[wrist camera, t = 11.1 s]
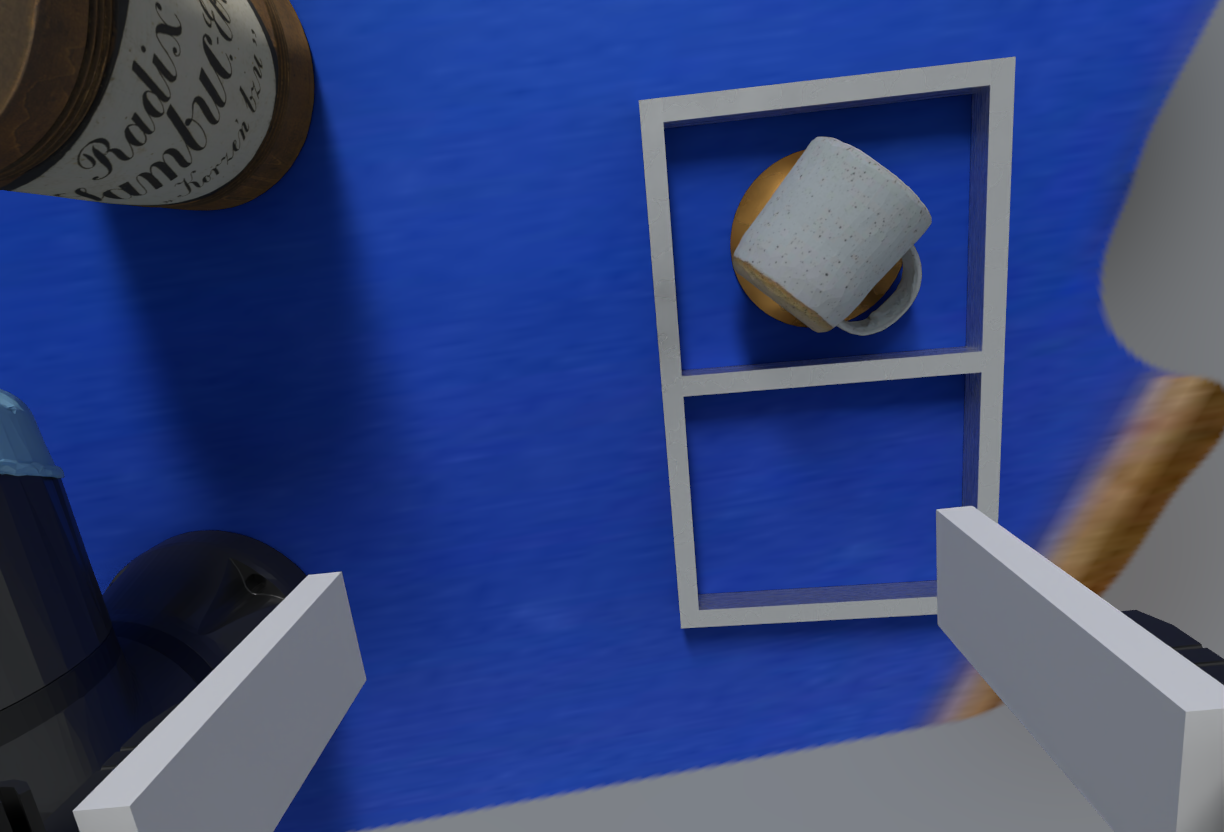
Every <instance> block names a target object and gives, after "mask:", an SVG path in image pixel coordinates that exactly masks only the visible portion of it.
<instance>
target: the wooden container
mask: <svg viewBox="0 0 1224 832" xmlns="http://www.w3.org/2000/svg"><path fill="white" fill-rule="evenodd" d="M313 103H314V75H313V66H312V59H311V54H310V50H309V46H308V42H307V39H306V36H305V34H304V31H303V28H302V26H301V23H300V21H299V19H298V17H297V14H296V12H295V10H294V8H293V7H292V5H291V3H290V1H289V0H0V190H7V191H16V192H24V193H33V194H41V195H49V196H57V197H64V198H71V199H79V200H87V201H95V202H103V203H111V204H123V205H132V206H142V207H162V208H171V209H184V210H219V209H226V208H231V207H235V206H238V205H241V204H244V203H246V202H249V201H251V200H253V199H255V198H256V197H258V196H260V195H261V194H263V193H264V192H266V191H267V190H268V189H270V188H271V187H272V186H273V185H275V184H276V183H277V182H278V181H279V180H280V179H281V178H282V177H283V176H284V174H285V173H286V172H287V171H288V170H289V168H290V167H291V166H292V164H293V163H294V161H295V159H296V158H297V156H298V154H299V152H300V150H301V148H302V146H303V144H304V142H305V140H306V137H307V133H308V130H309V125H310V121H311V116H312V110H313Z"/></svg>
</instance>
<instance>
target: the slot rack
mask: <svg viewBox="0 0 1224 832" xmlns="http://www.w3.org/2000/svg"><path fill="white" fill-rule="evenodd" d="M1014 82H1015V57H1009V58H1000V59H992V60H983V61H975V62H966V63H957V64H949V65H940V66H931V67H923V68H914V69H906V70H897V71H888V72H880V73H871V74H863V75H854V76H845V77H837V78H828V79H819V80H811V81H802V82H794V83H785V84H776V85H768V86H759V87H750V88H742V89H733V90H725V91H716V92H707V93H699V94H690V95H682V96H673V97H664V98H656V99H647V100H639V108H640V120H641V133H642V145H643V158H644V170H645V183H646V195H647V208H648V220H649V233H650V245H651V258H652V270H653V283H654V295H655V307H656V320H657V332H658V345H659V357H660V370H661V382H662V395H663V407H664V420H665V432H666V445H667V457H668V470H669V482H670V495H671V507H672V520H673V532H674V545H675V557H676V570H677V582H678V595H679V607H680V620H681V628H696V627H714V626H733V625H751V624H769V623H787V622H805V621H823V620H841V619H859V618H878V617H896V616H914V615H932V614H937V581H920V582H903V583H886V584H869V585H852V586H835V587H818V588H801V589H784V590H767V591H750V592H733V593H716V594H699V595H698V591H697V577H696V563H695V550H694V536H693V522H692V509H691V495H690V481H689V468H688V454H687V440H686V426H685V413H684V399H683V397H685V396H697V395H709V394H722V393H734V392H746V391H758V390H771V389H783V388H795V387H807V386H820V385H832V384H844V383H856V382H869V381H881V380H893V379H905V378H918V377H930V376H942V375H954V374H965V409H964V449H963V490H962V507H966V506H973V507H975V508H976V509H978V510H979V511H980V512H982V513H983V514H985V515H986V516H987V517H989V518H990V519H992V520H993V521H994V522H996V523H997V524H998V507H999V480H1000V454H1001V427H1002V401H1003V374H1004V348H1005V321H1006V295H1007V268H1008V242H1009V215H1010V189H1011V162H1012V135H1013V109H1014ZM968 94H972V124H971V165H970V205H969V246H968V287H967V327H966V346H965V347H953V348H942V349H930V350H918V351H906V352H894V353H883V354H871V355H859V356H847V357H835V358H823V359H812V360H800V361H788V362H776V363H764V364H753V365H741V366H729V367H717V368H705V369H693V370H682V371H681V358H680V344H679V330H678V317H677V303H676V289H675V276H674V262H673V248H672V234H671V221H670V207H669V193H668V180H667V166H666V152H665V139H664V129H665V128H674V127H683V126H692V125H701V124H710V123H719V122H728V121H736V120H745V119H754V118H763V117H772V116H781V115H790V114H799V113H808V112H816V111H825V110H834V109H843V108H852V107H861V106H870V105H879V104H888V103H896V102H905V101H914V100H923V99H932V98H941V97H950V96H959V95H968ZM804 151H805V150H802V151H799V152H796V153H793V154H791V155H789V156H786V157H784V158H782V159H780V160H779V161H777V162H776V163H774V164H773V165H771V166H770V167H769V168H767V169H766V170H765V171H764V172H763V173H761V174H760V175H759V177H758V178H757V179H756V180H755V181H754V182H753V183H752V184H751V186H750V187H749V188H748V190H747V191H746V193H745V194H744V196H743V198H742V200H741V202H740V204H739V206H738V209H737V211H736V213H735V217H734V221H733V224H732V230H731V243H730V249H731V258H733V255H734V252H735V250H736V248H737V247H738V245H739V243H740V241H741V239H742V237H743V235H744V234H745V232H746V231H747V230H748V228H749V227H750V226H751V224H752V223H753V222H754V220H755V219H756V218H757V216H758V215H759V214H760V212H761V211H762V209H763V208H764V207H765V205H766V204H767V203H768V201H769V200H770V198H771V197H772V195H773V194H774V192H775V191H776V190H777V188H778V187H779V186H780V184H781V183H782V181H783V180H784V179H785V177H786V176H787V175H788V173H789V172H790V170H791V169H792V168H793V166H794V165H795V164H796V162H797V161H798V159H799V158H800V157H801V155H802V154H803V153H804ZM732 263H733V262H732ZM902 264H903V261H902V258H901V259H900V260H899V261H898V262H897V263H896V264H895V265H894V266H893V267H892V268H891V269H890V270H889V271H888V272H887V273H886V275H885V276H884V277H883V278H882V279H881V280H880V281H879V282H878V283H877V284H876V285H875V286H874V287H873V288H872V289H871V291H870V292H869V293H868V294H867V296H866V297H865V298H864V299H863V301H862V302H861V303H860V304H859V305H858V306H857V307H856V308H855V310H854V311H853V312H852V313H851V314H850V315H849V316H848V317H846V318H845V319H844V320H845V321H848V320H850V319H853V318H855V317H857V316H858V315H860V314H862V313H863V312H865V311H866V310H868V309H869V308H870V307H872V306H873V305H874V304H875V303H876V302H877V301H878V300H879V299H880V298H882V296H883V295H884V294H885V293H886V292H887V290H888V289H889V288H890V287H891V285H892V283H893V282H894V280H895V279H896V277H897V275H898V273H899V271H900V269H901V267H902ZM734 271H735V270H734ZM735 273H736V276H737V278H738V281H739V283H740V285H741V286H742V288H743V290H744V292H745V293H746V294H747V295H748V297H749V298H750V299H751V301H753V302H754V303H755V304H756V305H757V306H758V307H759V308H760V309H761V310H762V311H764V312H765V313H766V314H768V315H770V316H772V317H773V318H775V319H777V320H779V321H782V322H784V323H787V324H791V325H795V326H799V327H808V326H807V325H805V324H804V323H803V322H801V321H800V320H798V319H797V318H796V317H795V316H793V315H792V314H791V313H789V312H788V311H787V310H785V309H784V308H783V307H781V306H780V305H779V304H777V303H776V302H775V301H773V300H772V299H771V298H769V297H768V296H767V295H765V294H764V293H763V292H762V291H760V290H759V289H758V288H756V287H755V286H754V285H753V284H751V283H750V282H749V281H747V280H746V279H745V278H743V277H742V276H741V275H739V274H738V273H737V272H736V271H735ZM808 328H809V327H808Z"/></svg>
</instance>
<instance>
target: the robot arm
mask: <svg viewBox="0 0 1224 832" xmlns="http://www.w3.org/2000/svg"><path fill="white" fill-rule="evenodd" d="M64 477H65V476H64V472H63V471H62V469H61V468H60V467H58V466H56V465H55V464H54V462H53V459H52V457H51V455H50V453H49V451H48V449H47V447H46V445H45V442H44V440H43V437H42V435H41V433H40V430H39V428H38V426H37V423H36V421H35V419H34V416H33V414H32V413H31V411H30V409H29V408H28V407H27V405H26V404H25V403H24V402H22V401H21V400H20V399H19V398H18V397H16V396H14V395H13V394H11V393H9V392H7V391H4V390H2V389H0V832H273V831H274V830H275V828H276V826H277V825H278V823H279V821H280V820H281V818H282V817H283V815H284V813H285V812H286V810H287V808H288V807H289V805H290V803H291V802H292V800H293V799H294V797H295V795H296V794H297V792H298V790H299V789H300V787H301V786H302V784H303V782H304V781H305V779H306V777H307V776H308V774H309V773H310V771H311V769H312V768H313V766H314V764H315V763H316V761H317V759H318V758H319V756H320V755H321V753H322V751H323V750H324V748H325V746H326V745H327V743H328V742H329V740H330V738H331V737H332V735H333V733H334V732H335V730H336V729H337V727H338V725H339V724H340V722H341V720H342V719H343V717H344V715H345V714H346V712H347V711H348V709H349V707H350V706H351V704H352V702H353V701H354V699H355V698H356V696H357V694H358V693H359V691H360V689H361V688H362V686H363V685H364V683H365V681H366V676H365V672H364V667H363V663H362V658H361V654H360V650H359V645H358V641H357V637H356V632H355V628H354V624H353V619H352V615H351V610H350V606H349V602H348V597H347V593H346V589H345V584H344V580H343V575H342V572H333V573H323V574H313V575H308V576H306V575H305V574H304V573H303V572H302V571H301V570H300V569H299V568H298V567H297V566H296V565H295V564H294V563H293V562H292V561H291V560H289V559H288V558H287V557H285V556H284V555H283V554H281V553H280V552H278V551H277V550H275V549H274V548H272V547H270V546H268V545H266V544H264V543H262V542H260V541H258V540H255V539H253V538H250V537H247V536H244V535H240V534H236V533H231V532H226V531H214V530H205V531H194V532H188V533H184V534H180V535H177V536H174V537H172V538H169V539H167V540H165V541H163V542H161V543H160V544H158V545H156V546H155V547H153V548H151V549H150V550H148V551H146V552H144V553H143V554H141V555H139V556H138V557H136V558H135V559H134V560H132V561H131V562H130V563H129V564H127V565H126V566H125V567H124V568H123V569H122V570H121V571H120V572H119V573H118V574H117V575H116V576H115V578H114V579H113V580H112V582H111V583H110V585H109V587H108V588H107V590H106V591H105V593H104V594H103V595H102V594H101V591H100V588H99V586H98V583H97V580H96V578H95V575H94V572H93V569H92V567H91V564H90V561H89V558H88V555H87V552H86V550H85V547H84V544H83V541H82V538H81V535H80V532H79V529H78V526H77V523H76V520H75V518H74V515H73V512H72V509H71V506H70V503H69V500H68V497H67V494H66V491H65V488H64V486H63V483H62V480H61V478H64ZM936 536H937V616H938V626H939V627H940V628H941V629H942V630H943V632H944V633H945V634H946V635H947V636H948V637H949V639H950V640H951V641H952V642H953V643H954V644H955V646H956V647H957V648H958V649H959V650H960V652H961V653H962V654H963V655H964V656H965V657H966V659H967V660H968V661H969V662H970V663H971V664H972V666H973V667H974V668H975V669H976V670H977V671H978V673H979V674H980V675H981V676H982V677H983V679H984V680H985V681H986V682H987V683H988V684H989V686H990V687H991V688H992V689H993V690H994V691H995V693H996V694H997V695H998V696H999V697H1000V698H1001V700H1002V701H1003V702H1004V703H1005V704H1006V706H1007V707H1008V708H1009V709H1010V710H1011V711H1012V713H1013V714H1014V715H1015V716H1016V717H1017V718H1018V720H1019V721H1020V722H1021V723H1022V724H1023V725H1024V727H1025V728H1026V729H1027V730H1028V731H1029V733H1030V734H1031V735H1032V736H1033V737H1034V738H1035V739H1036V741H1037V742H1038V743H1039V744H1040V745H1041V747H1042V748H1043V749H1044V750H1045V751H1046V752H1047V753H1048V755H1049V756H1050V757H1051V758H1052V759H1053V761H1054V762H1055V763H1056V764H1057V765H1058V767H1059V768H1060V769H1061V770H1062V771H1063V772H1064V773H1065V775H1066V776H1067V777H1068V778H1069V779H1070V781H1071V782H1072V783H1073V784H1074V785H1075V786H1076V788H1077V789H1078V790H1079V791H1080V792H1081V793H1082V795H1083V796H1084V797H1085V798H1086V799H1087V800H1088V802H1089V803H1090V804H1091V805H1092V806H1093V808H1094V809H1095V810H1096V811H1097V812H1098V813H1099V815H1100V816H1101V817H1102V818H1103V819H1104V820H1105V822H1106V823H1107V824H1108V825H1109V826H1110V828H1111V829H1112V830H1113V831H1114V832H1224V659H1223V658H1221V657H1220V656H1218V655H1217V654H1215V653H1214V652H1212V651H1211V650H1209V649H1208V648H1202V645H1201V644H1200V643H1199V642H1197V641H1196V640H1194V639H1193V638H1191V637H1190V636H1189V635H1187V634H1185V633H1184V632H1182V631H1181V630H1180V629H1178V628H1177V627H1175V626H1174V625H1172V624H1169V623H1167V622H1164V621H1162V620H1159V619H1157V618H1154V617H1152V616H1150V615H1147V614H1145V613H1142V612H1140V611H1137V610H1130V611H1119V610H1118V609H1116V608H1115V607H1113V606H1112V605H1111V604H1109V603H1108V602H1106V601H1105V600H1104V599H1102V598H1101V597H1099V596H1098V595H1097V594H1095V593H1094V592H1092V591H1091V590H1090V589H1088V588H1087V587H1085V586H1084V585H1083V584H1081V583H1080V582H1078V581H1077V580H1076V579H1074V578H1073V577H1071V576H1070V575H1069V574H1067V573H1066V572H1064V571H1063V570H1062V569H1060V568H1059V567H1057V566H1056V565H1055V564H1053V563H1052V562H1050V561H1049V560H1048V559H1046V558H1045V557H1043V556H1042V555H1041V554H1039V553H1038V552H1036V551H1035V550H1034V549H1032V548H1031V547H1029V546H1028V545H1027V544H1025V543H1024V542H1022V541H1021V540H1020V539H1018V538H1017V537H1015V536H1014V535H1013V534H1011V533H1010V532H1008V531H1007V530H1006V529H1004V528H1003V527H1001V526H1000V525H999V524H997V523H996V522H994V521H993V520H992V519H990V518H989V517H987V516H986V515H985V514H983V513H982V512H980V511H979V510H978V509H976V508H975V507H973V506H966V507H956V508H946V509H937V510H936Z"/></svg>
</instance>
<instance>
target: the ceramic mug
mask: <svg viewBox="0 0 1224 832" xmlns="http://www.w3.org/2000/svg"><path fill="white" fill-rule="evenodd" d="M930 224H931V216H930V213H929V211H928V209H927V208H926V206H925V205H924V204H923V203H922V202H921V200H920V199H919V197H918V196H917V195H916V194H915V193H914V192H913V191H912V190H911V189H910V188H909V187H908V186H907V185H905V184H904V183H903V182H902V181H901V180H900V179H899V178H898V177H897V176H896V175H894V174H893V173H891V172H890V171H889V170H888V169H886V168H885V167H883V166H882V165H880V164H879V163H878V162H876V161H875V160H874V159H872V158H871V157H870V156H868V155H867V154H865V153H864V152H862V151H861V150H859V149H857V148H855V147H853V146H851V145H849V144H846V143H843V142H841V141H840V140H838V139H835V138H832V137H817V138H815V139H814V140H812V141H811V143H810V144H809V146H808V147H807V148H806V150H805V151H804V153H803V154H802V155H801V157H800V158H799V159H798V161H797V162H796V164H795V165H794V166H793V168H792V169H791V170H790V172H789V173H788V175H787V176H786V177H785V179H784V180H783V181H782V183H781V184H780V186H779V187H778V188H777V190H776V191H775V192H774V194H773V195H772V197H771V198H770V200H769V201H768V203H767V204H766V205H765V207H764V208H763V209H762V211H761V212H760V214H759V215H758V216H757V218H756V219H755V220H754V222H753V223H752V224H751V226H750V227H749V228H748V230H747V231H746V232H745V234H744V235H743V237H742V239H741V241H740V243H739V245H738V247H737V248H736V250H735V252H734V255H733V258H732V262H733V268H734V270H735V271H736V272H737V273H738V274H739V275H741V276H742V277H743V278H745V279H746V280H747V281H749V282H750V283H751V284H753V285H754V286H755V287H756V288H758V289H759V290H760V291H762V292H763V293H764V294H765V295H767V296H768V297H769V298H771V299H772V300H773V301H775V302H776V303H777V304H779V305H780V306H781V307H783V308H784V309H785V310H787V311H788V312H789V313H791V314H792V315H793V316H795V317H796V318H797V319H798V320H800V321H801V322H803V323H804V324H805V325H807V326H808V327H809V328H811V329H812V330H813V331H816V332H818V333H820V332H827V331H830V330H831V329H833V328H834V327H835V326H837V327H839V328H841V329H842V330H844V331H846V332H848V333H851V334H856V335H863V336H865V335H870V334H874V333H877V332H880V331H883V330H884V329H886V328H887V327H889V326H890V325H892V324H893V323H895V322H896V321H897V320H898V319H899V318H900V317H901V316H902V315H903V314H904V313H905V312H906V311H907V310H908V309H909V307H910V306H911V305H912V303H913V301H914V300H915V298H916V296H917V294H918V291H919V288H920V285H921V278H922V270H921V263H920V258H919V255H918V253H917V251H916V248H915V246H914V243H915V242H916V241H917V240H918V239H919V238H920V237H921V236H922V235H923V234H924V232H925V231H926V230H927V229H928V227H929V226H930ZM901 258H902V261H903V272H902V278H901V281H900V283H899V285H898V287H897V290H895V292H894V293H893V294H892V295H891V296H890V297H889V298H888V299H887V300H886V301H885V302H884V303H883V304H882V305H881V306H880V307H879V308H878V309H877V310H876V311H873V312H871V314H870V315H869V316H868V318H867V319H864V320H861V321H854V322H848V321H845V320H844V319H845V318H846V317H848V316H849V315H850V314H851V313H852V312H853V311H854V310H855V308H856V307H857V306H858V305H859V304H860V303H861V302H862V301H863V299H864V298H865V297H866V296H867V294H868V293H869V292H870V291H871V289H872V288H873V287H874V286H875V285H876V284H877V283H878V282H879V281H880V280H881V279H882V278H883V277H884V276H885V275H886V273H887V272H888V271H889V270H890V269H891V268H892V267H893V266H894V265H895V264H896V263H897V262H898V261H899V260H900V259H901Z"/></svg>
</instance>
